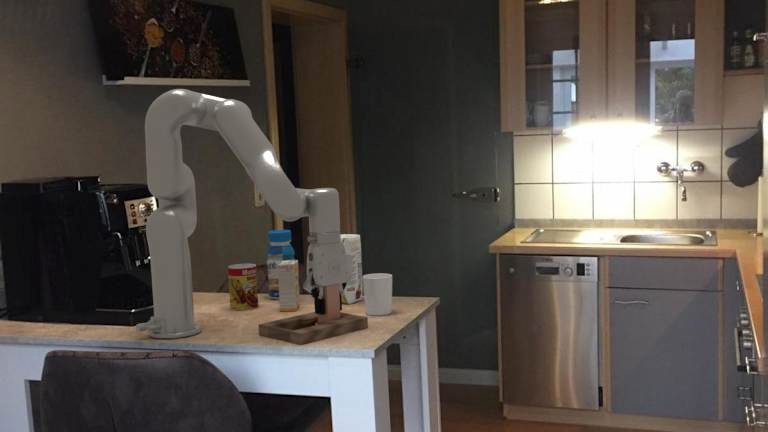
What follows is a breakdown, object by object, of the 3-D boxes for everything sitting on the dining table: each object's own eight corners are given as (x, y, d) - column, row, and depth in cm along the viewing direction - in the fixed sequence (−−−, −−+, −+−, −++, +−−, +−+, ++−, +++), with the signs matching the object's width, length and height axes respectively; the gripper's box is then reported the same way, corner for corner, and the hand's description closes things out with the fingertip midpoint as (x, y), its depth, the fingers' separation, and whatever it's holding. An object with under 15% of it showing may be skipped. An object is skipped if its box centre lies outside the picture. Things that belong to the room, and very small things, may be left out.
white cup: (360, 316, 214) (358, 278, 213) (368, 309, 222) (366, 273, 221) (389, 316, 212) (388, 278, 211) (396, 310, 220) (395, 273, 219)
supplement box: (297, 311, 224) (294, 263, 222) (279, 311, 224) (277, 264, 223) (300, 305, 232) (298, 259, 231) (283, 305, 232) (281, 260, 231)
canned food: (253, 310, 227) (250, 267, 226) (226, 310, 228) (223, 268, 227) (262, 304, 235) (260, 263, 234) (236, 305, 236) (233, 263, 235)
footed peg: (328, 332, 197) (325, 283, 196) (309, 328, 202) (307, 280, 201) (349, 326, 202) (347, 278, 201) (330, 323, 207) (328, 276, 206)
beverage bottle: (299, 298, 242) (295, 231, 240) (270, 301, 240) (267, 233, 238) (294, 293, 250) (291, 228, 248) (267, 296, 248) (263, 230, 246)
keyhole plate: (300, 344, 186) (300, 333, 186) (259, 335, 197) (258, 324, 197) (367, 327, 201) (367, 317, 200) (325, 319, 212) (324, 309, 212)
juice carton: (366, 299, 237) (363, 234, 235) (350, 305, 229) (347, 237, 227) (344, 297, 240) (341, 233, 239) (328, 303, 233) (325, 237, 231)
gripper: (308, 243, 192) (311, 320, 193) (361, 235, 204) (364, 308, 205) (288, 241, 197) (292, 316, 199) (341, 234, 209) (344, 304, 211)
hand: (328, 311), depth 202 cm, fingers open, 4 cm apart
